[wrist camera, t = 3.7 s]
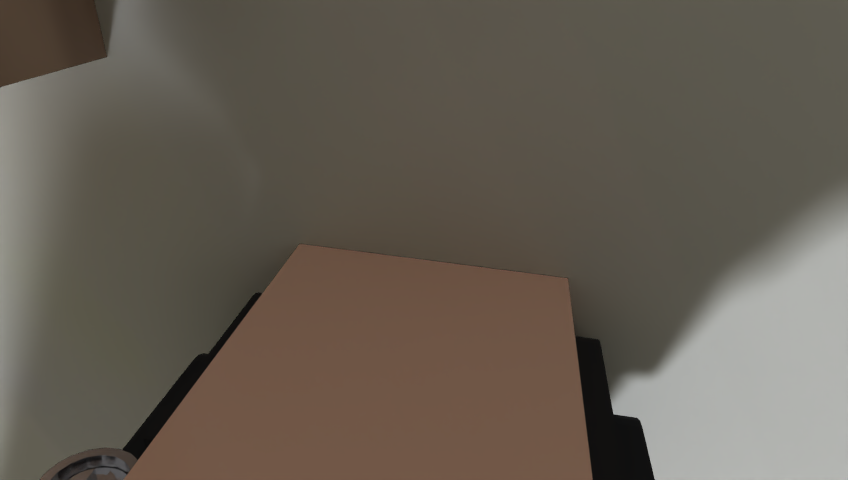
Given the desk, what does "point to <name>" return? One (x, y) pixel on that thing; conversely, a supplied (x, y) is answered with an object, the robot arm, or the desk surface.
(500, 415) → the peach-colored cube
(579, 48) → the desk surface
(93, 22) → the walnut block
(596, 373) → the robot arm
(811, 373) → the desk surface
